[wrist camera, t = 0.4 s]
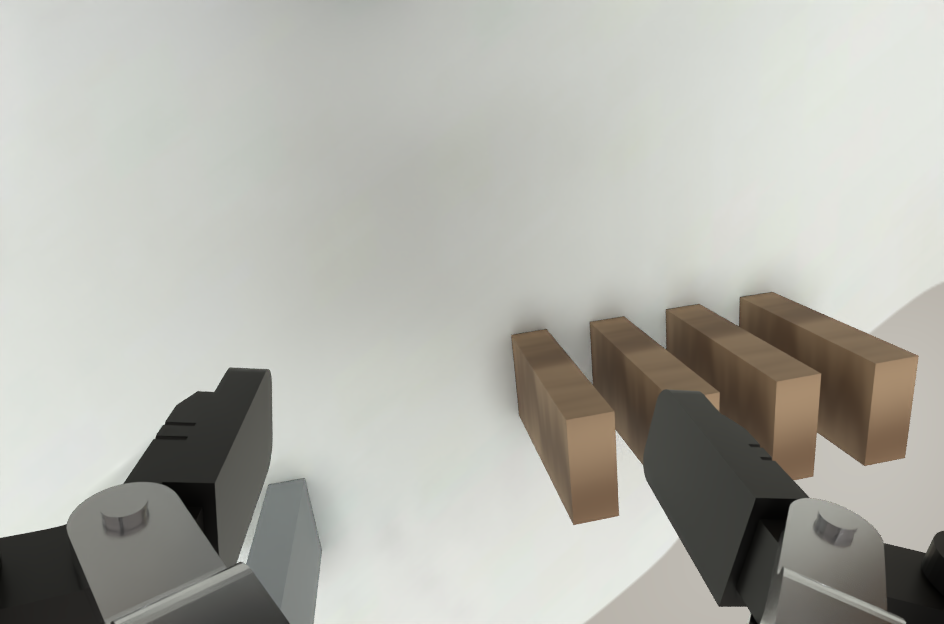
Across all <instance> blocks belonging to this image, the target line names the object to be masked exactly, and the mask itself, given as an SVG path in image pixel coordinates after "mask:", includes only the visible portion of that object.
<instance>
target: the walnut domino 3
mask: <svg viewBox="0 0 944 624" xmlns="http://www.w3.org/2000/svg"><path fill="white" fill-rule="evenodd" d="M666 350H667V351H668V352H669V353H671V354H672V355H673V356H675V357H676V358H677V359H678V360H680V361H681V362H682V363H683V364H685V365H686V366H687V367H688V368H690V369H691V370H692V371H693V372H695V373H696V374H697V375H698V376H700V377H701V378H702V379H704V380H705V381H706V382H707V383H709V384H710V385H711V386H712V387H714V388H715V389H716V390H717V391H719V392H720V402H719V412H720V413H721V414H722V415H725V416H726V417H728V418H729V419H731V420H733V421H734V422H736V423H737V424H739V425H740V426H742V427H744V428H745V429H746V430H747V431H748V432H749V433H750V434H751V435H752V436H753V437H754V438H755V440H756V441H757V442H758V443H759V444H760V447H761V448H764V449H765V450H766V451H767V452H768V454H769V455H770V456H771V457H772V461H776V462H777V463H778V464H779V465H780V466H781V468H782V469H783V470H784V471H785V472H786V473H787V474H788V475H789V476H790V477H791V478H792V479H793V480H798V479H803V478H808V477H812V476H813V472H814V460H815V448H816V434H817V422H818V409H819V396H820V384H821V373H819V372H818V371H816V370H814V369H812V368H811V367H809V366H807V365H805V364H804V363H802V362H800V361H798V360H797V359H795V358H793V357H791V356H790V355H788V354H786V353H784V352H783V351H781V350H779V349H777V348H776V347H774V346H772V345H770V344H768V343H767V342H765V341H763V340H761V339H760V338H758V337H756V336H754V335H753V334H751V333H749V332H747V331H746V330H744V329H742V328H740V327H739V326H737V325H735V324H733V323H732V322H730V321H728V320H726V319H725V318H723V317H721V316H719V315H718V314H716V313H714V312H712V311H711V310H709V309H707V308H705V307H703V306H702V305H700V304H696V305H690V306H684V307H678V308H672V309H666Z"/></svg>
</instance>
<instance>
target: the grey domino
mask: <svg viewBox="0 0 944 624" xmlns="http://www.w3.org/2000/svg"><path fill="white" fill-rule="evenodd" d="M321 554H322V549H321V545H320V541H319V537H318V532H317V528H316V524H315V520H314V515H313V511H312V507H311V503H310V498H309V494H308V490H307V486H306V481H305V478H303V479H297V480H292V481H286V482H281V483H276V484H270V485H268V488H267V492H266V495H265V499H264V502H263V506H262V510H261V513H260V517H259V520H258V524H257V527H256V531H255V535H254V538H253V542H252V545H251V549H250V552H249V556H248V560H247V563H246V565H247V566H248V567H249V568H250V569H251V570H252V571H253V572H254V574H255V575H256V577H257V578H258V579H259V581H260V582H261V584H262V585H263V586H264V588H265V589H266V591H267V592H268V593H269V595H270V596H271V598H272V599H273V600H274V602H275V603H276V605H277V606H278V607H279V609H280V610H281V612H282V613H283V614H284V616H285V617H286V619H287V620H288V621H289V623H290V624H314V615H315V606H316V598H317V589H318V580H319V571H320V563H321Z"/></svg>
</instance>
